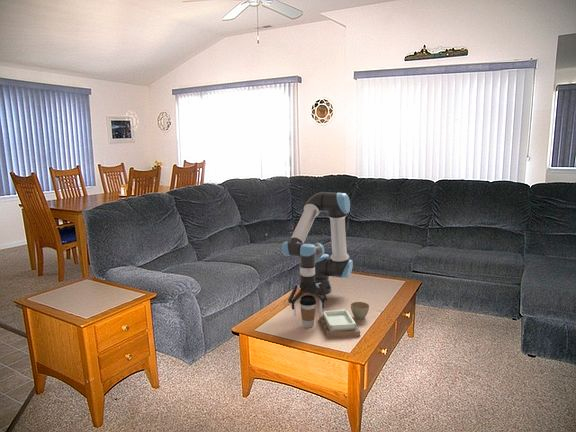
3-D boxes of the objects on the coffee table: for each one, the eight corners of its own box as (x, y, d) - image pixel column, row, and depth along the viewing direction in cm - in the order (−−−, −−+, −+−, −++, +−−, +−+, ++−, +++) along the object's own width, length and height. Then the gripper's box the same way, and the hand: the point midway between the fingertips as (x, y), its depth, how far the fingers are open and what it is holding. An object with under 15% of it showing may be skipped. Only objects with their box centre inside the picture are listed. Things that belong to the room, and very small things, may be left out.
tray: (322, 316, 224) (322, 311, 223) (346, 314, 226) (346, 309, 225) (330, 331, 206) (330, 325, 206) (356, 329, 208) (356, 323, 207)
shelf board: (319, 319, 226) (319, 315, 226) (348, 317, 228) (348, 313, 228) (328, 338, 205) (328, 333, 204) (360, 336, 207) (360, 331, 206)
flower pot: (355, 322, 222) (355, 309, 221) (347, 315, 231) (347, 302, 230) (372, 320, 224) (372, 307, 223) (364, 313, 234) (364, 300, 233)
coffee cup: (315, 321, 224) (315, 294, 221) (317, 328, 215) (316, 300, 213) (299, 322, 224) (299, 295, 221) (300, 329, 215) (300, 301, 213)
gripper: (284, 278, 210) (284, 318, 213) (333, 275, 213) (333, 315, 216) (282, 273, 217) (282, 312, 220) (330, 271, 220) (329, 310, 223)
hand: (307, 314), depth 218 cm, fingers open, 13 cm apart
